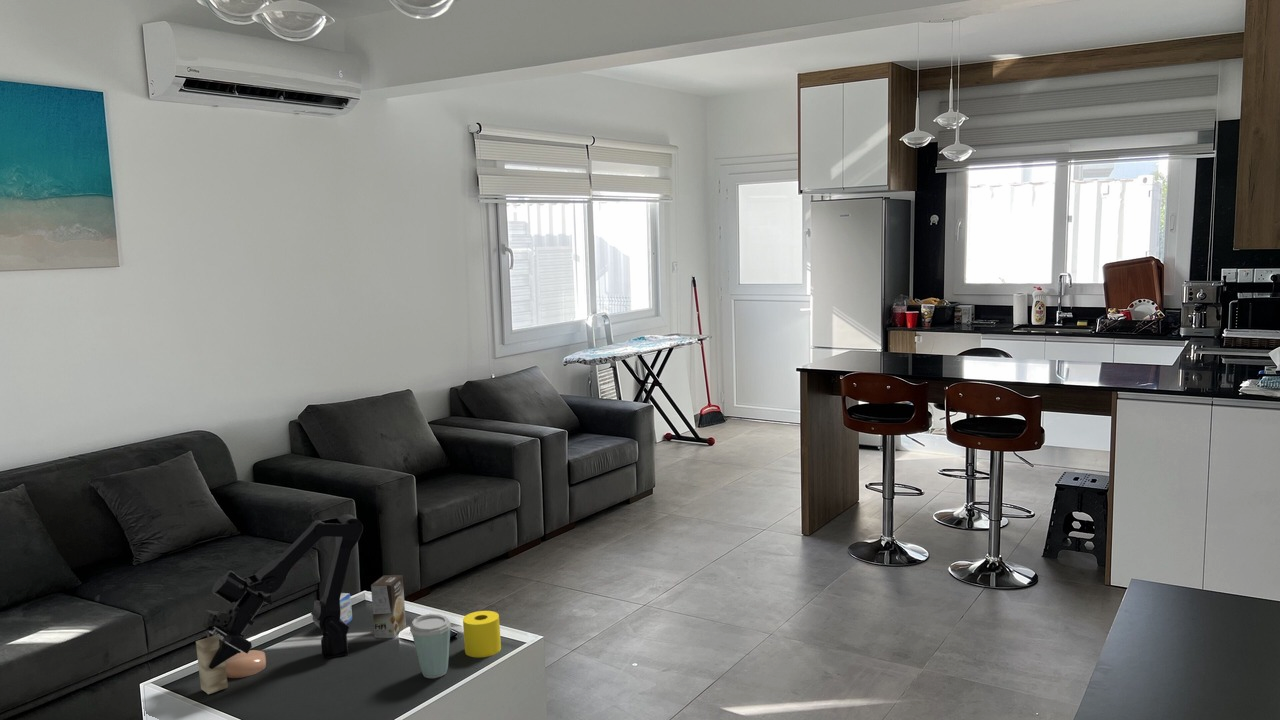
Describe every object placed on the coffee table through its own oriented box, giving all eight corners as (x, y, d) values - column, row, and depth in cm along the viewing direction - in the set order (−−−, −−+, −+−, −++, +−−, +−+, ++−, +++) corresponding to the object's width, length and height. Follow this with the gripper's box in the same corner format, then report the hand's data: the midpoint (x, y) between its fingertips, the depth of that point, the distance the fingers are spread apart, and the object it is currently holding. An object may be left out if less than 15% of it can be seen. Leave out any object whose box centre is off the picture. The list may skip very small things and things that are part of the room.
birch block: (220, 682, 251) (215, 635, 249) (227, 687, 247) (222, 639, 246) (201, 688, 247) (195, 641, 246) (208, 694, 244) (203, 646, 242)
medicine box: (339, 630, 284) (337, 602, 283) (326, 629, 285) (324, 601, 284) (352, 620, 292) (350, 592, 291) (339, 619, 293) (337, 592, 292)
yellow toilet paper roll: (478, 640, 272) (476, 609, 271) (507, 645, 268) (505, 613, 267) (457, 654, 263) (455, 621, 262) (487, 659, 259) (485, 626, 258)
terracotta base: (268, 658, 266) (267, 647, 266) (263, 674, 256) (262, 663, 255) (226, 664, 263) (225, 653, 263) (219, 680, 253) (218, 670, 253)
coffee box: (394, 638, 276) (390, 585, 274) (374, 638, 277) (369, 585, 275) (406, 626, 285) (403, 574, 283) (386, 625, 286) (382, 574, 284)
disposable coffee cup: (462, 667, 254) (458, 613, 253) (441, 684, 244) (437, 629, 243) (427, 663, 258) (424, 610, 256) (405, 680, 248) (401, 625, 246)
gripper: (206, 589, 254) (167, 642, 248) (234, 605, 241) (194, 661, 234) (239, 608, 260) (202, 660, 254) (268, 625, 247) (229, 680, 241)
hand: (206, 665), depth 246 cm, fingers closed on birch block, 5 cm apart
